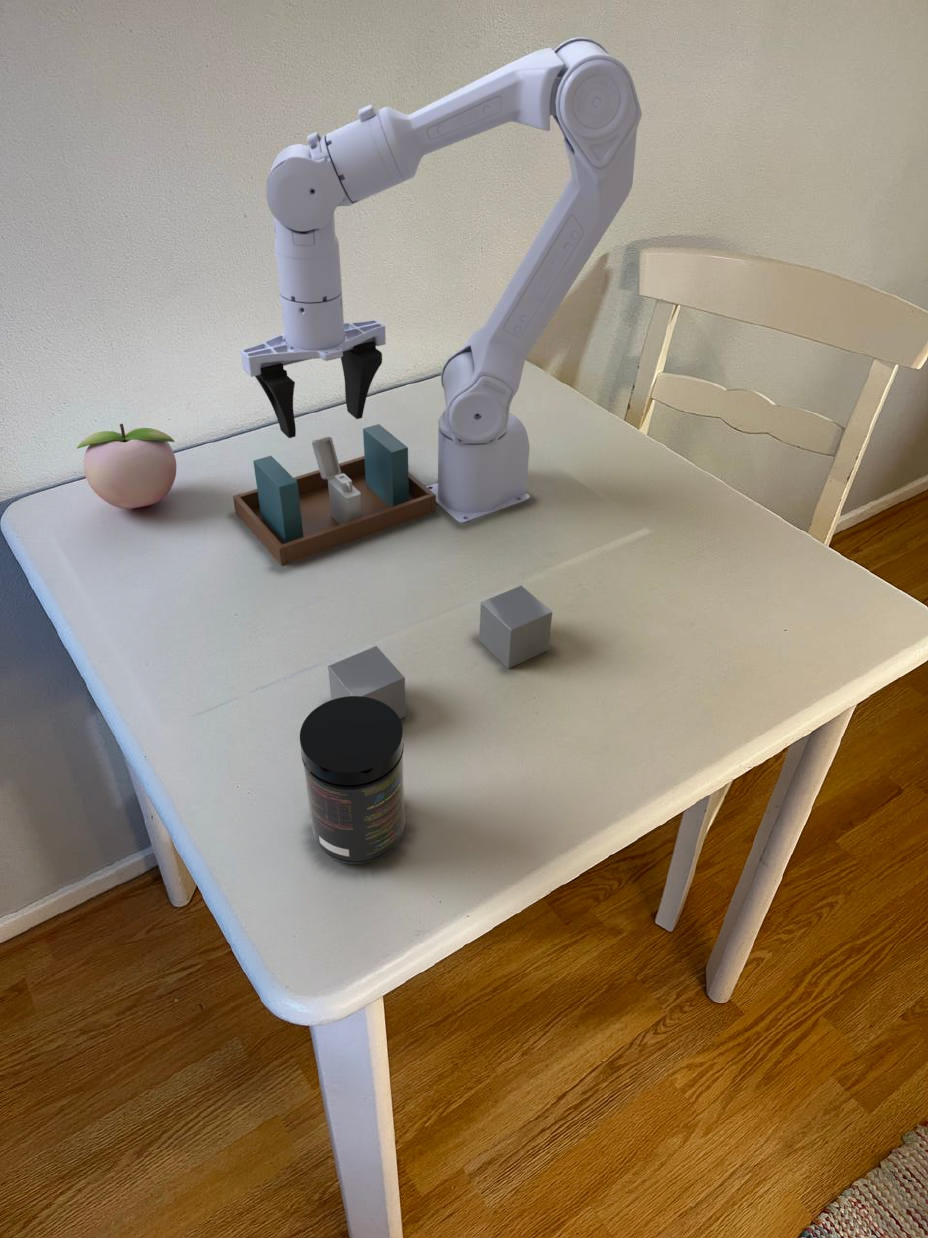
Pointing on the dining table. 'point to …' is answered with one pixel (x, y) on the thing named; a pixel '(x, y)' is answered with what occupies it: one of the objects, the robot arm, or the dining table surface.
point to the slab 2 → (386, 465)
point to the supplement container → (354, 778)
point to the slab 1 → (278, 499)
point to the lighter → (337, 483)
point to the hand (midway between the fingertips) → (322, 423)
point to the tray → (317, 516)
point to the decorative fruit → (130, 466)
